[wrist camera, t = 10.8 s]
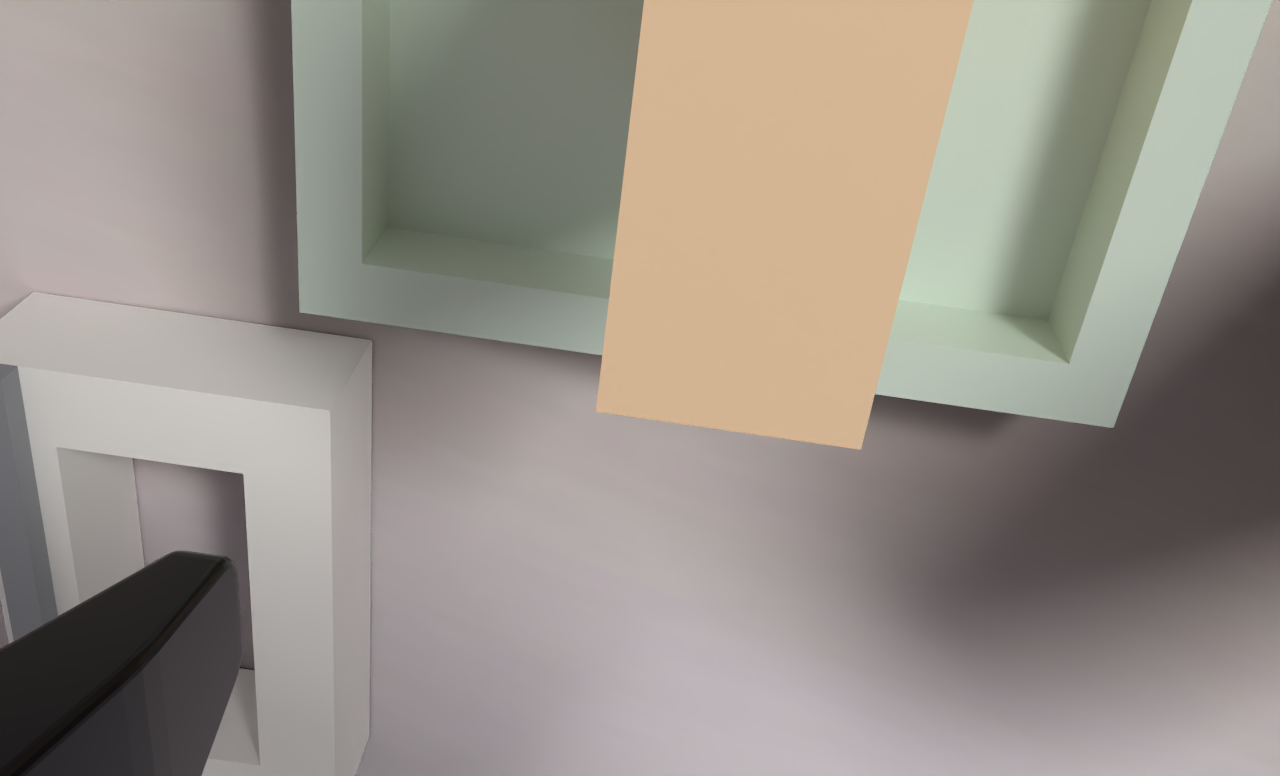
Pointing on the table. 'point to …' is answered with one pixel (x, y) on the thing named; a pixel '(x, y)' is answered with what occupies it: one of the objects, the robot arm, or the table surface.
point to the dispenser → (213, 439)
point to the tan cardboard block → (772, 208)
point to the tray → (595, 159)
